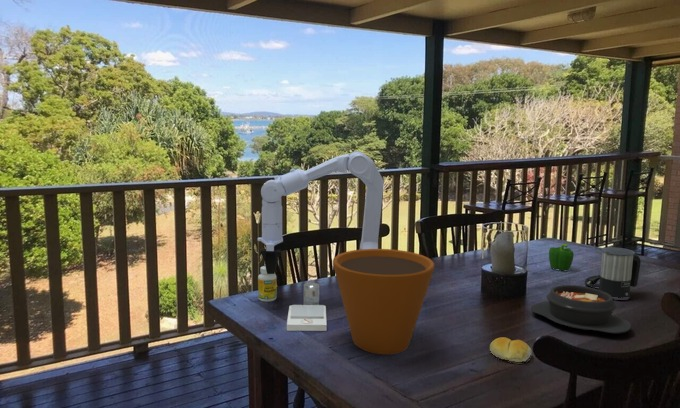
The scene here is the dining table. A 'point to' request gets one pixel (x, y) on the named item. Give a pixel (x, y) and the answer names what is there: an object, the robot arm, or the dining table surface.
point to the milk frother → (617, 272)
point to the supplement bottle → (267, 286)
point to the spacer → (311, 294)
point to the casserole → (581, 309)
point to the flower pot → (382, 296)
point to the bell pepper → (561, 257)
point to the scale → (306, 318)
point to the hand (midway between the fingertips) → (272, 269)
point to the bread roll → (510, 349)
